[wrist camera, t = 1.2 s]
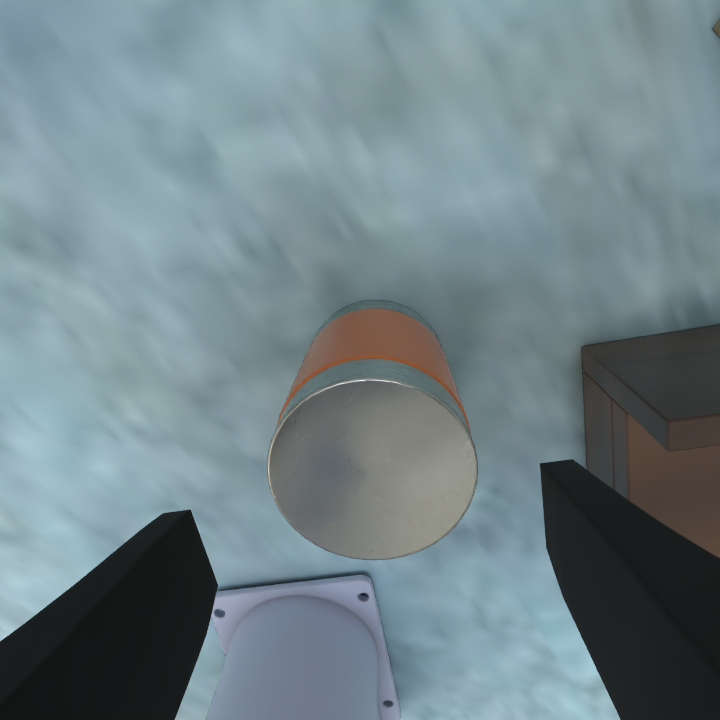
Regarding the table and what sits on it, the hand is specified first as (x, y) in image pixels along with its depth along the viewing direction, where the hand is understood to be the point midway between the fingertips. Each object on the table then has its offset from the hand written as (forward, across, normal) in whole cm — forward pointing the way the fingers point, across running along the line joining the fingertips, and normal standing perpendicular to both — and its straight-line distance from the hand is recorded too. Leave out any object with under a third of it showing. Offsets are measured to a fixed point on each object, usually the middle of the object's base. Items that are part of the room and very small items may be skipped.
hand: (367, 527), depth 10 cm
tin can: (+11, 0, +1) cm, 11 cm away
